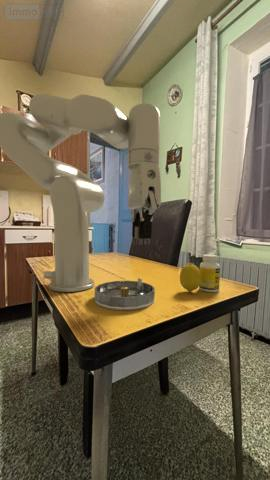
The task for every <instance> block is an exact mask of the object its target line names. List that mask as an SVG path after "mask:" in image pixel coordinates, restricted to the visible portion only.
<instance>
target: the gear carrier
mask: <svg viewBox="0 0 270 480" xmlns="http://www.w3.org/2000/svg"><path fill="white" fill-rule="evenodd" d="M155 296H156V287H154V286H153V285H152V284H150V283H147V282H143V278H141V277H138V278H137V280H115V281H105V282H103V283H100V284H98V285H97V286H95V287H94V302H95V305H97V306H98V307H100V308H102V309H105V310H109V311H110V310H111V311H119V312H122V311H123V312H126V311H127V312H128V311H137V310H143V309H146V308H149V307H150V306H152V305H153V304H154V303H155Z"/></svg>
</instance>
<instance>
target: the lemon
mask: <svg viewBox="0 0 270 480" xmlns="http://www.w3.org/2000/svg"><path fill="white" fill-rule="evenodd" d="M200 282H201V274H200V268H198V266H196V265H195V264H193V263H192V262H189V263H188V264H186V265H184V266H183V267H182V268H181V270H180V273H179V283H180V285H181V287H182V288H183V289H184V290H186V291H187V292H188V293H192V292H193V291H196V290H197V289H199V285H200Z"/></svg>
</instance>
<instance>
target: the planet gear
mask: <svg viewBox="0 0 270 480" xmlns="http://www.w3.org/2000/svg"><path fill="white" fill-rule="evenodd" d="M132 239H133V240H132V244H133V245H140V246H141V245H151V238H150V239H140V238H138V227H135V238H132Z"/></svg>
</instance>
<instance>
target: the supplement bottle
mask: <svg viewBox="0 0 270 480" xmlns="http://www.w3.org/2000/svg"><path fill="white" fill-rule="evenodd" d="M218 260H219V256H218V255H216V254H203V255H202V262H200V264H199V270H200V274H201V282H200V285H199V287H198V289H199V290H200V291H201V292H202V291H203V292H206V293H217V292H219V291H220V284H221V283H220V282H221V281H220V280H221V277H220V276H221V266H220V264H219V263H218Z"/></svg>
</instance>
